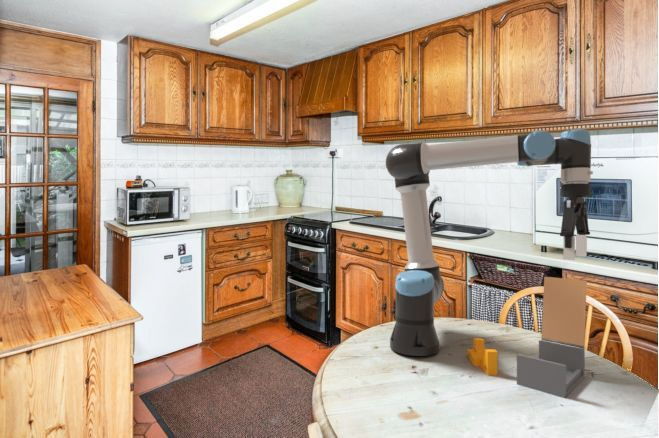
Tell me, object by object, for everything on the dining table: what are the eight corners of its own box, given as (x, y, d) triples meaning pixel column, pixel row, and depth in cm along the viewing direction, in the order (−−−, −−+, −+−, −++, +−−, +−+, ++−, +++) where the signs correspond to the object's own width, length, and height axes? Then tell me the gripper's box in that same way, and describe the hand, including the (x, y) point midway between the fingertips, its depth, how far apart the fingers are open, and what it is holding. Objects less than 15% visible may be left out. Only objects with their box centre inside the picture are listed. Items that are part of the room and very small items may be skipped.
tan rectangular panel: (544, 276, 117) (545, 276, 117) (541, 340, 115) (542, 339, 116) (586, 280, 109) (586, 280, 110) (583, 348, 108) (584, 348, 108)
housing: (516, 384, 104) (516, 354, 103) (539, 366, 115) (540, 340, 115) (565, 397, 96) (565, 366, 96) (584, 377, 108) (584, 349, 108)
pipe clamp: (467, 359, 121) (467, 338, 121) (481, 359, 121) (481, 338, 121) (481, 375, 109) (481, 351, 109) (497, 375, 109) (497, 351, 109)
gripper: (578, 180, 108) (578, 262, 109) (600, 184, 125) (600, 255, 125) (548, 182, 114) (547, 260, 114) (573, 186, 130) (572, 254, 131)
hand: (575, 257), depth 120 cm, fingers open, 11 cm apart
